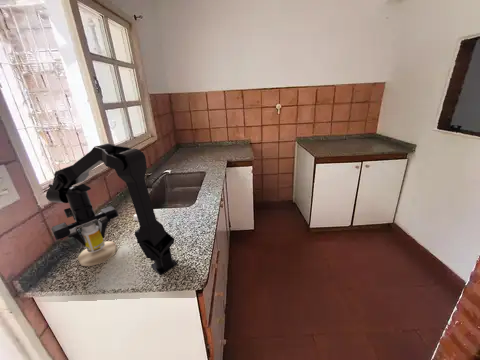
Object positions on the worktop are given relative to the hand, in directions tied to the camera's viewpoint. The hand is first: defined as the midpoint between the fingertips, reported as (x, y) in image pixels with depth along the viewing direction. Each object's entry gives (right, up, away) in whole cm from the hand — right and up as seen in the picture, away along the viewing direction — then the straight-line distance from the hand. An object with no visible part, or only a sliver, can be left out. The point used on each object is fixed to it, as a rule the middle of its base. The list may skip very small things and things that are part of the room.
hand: (94, 241), depth 78 cm
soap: (+7, +3, +25) cm, 27 cm away
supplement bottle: (0, -3, +1) cm, 3 cm away
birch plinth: (0, -6, +2) cm, 6 cm away
